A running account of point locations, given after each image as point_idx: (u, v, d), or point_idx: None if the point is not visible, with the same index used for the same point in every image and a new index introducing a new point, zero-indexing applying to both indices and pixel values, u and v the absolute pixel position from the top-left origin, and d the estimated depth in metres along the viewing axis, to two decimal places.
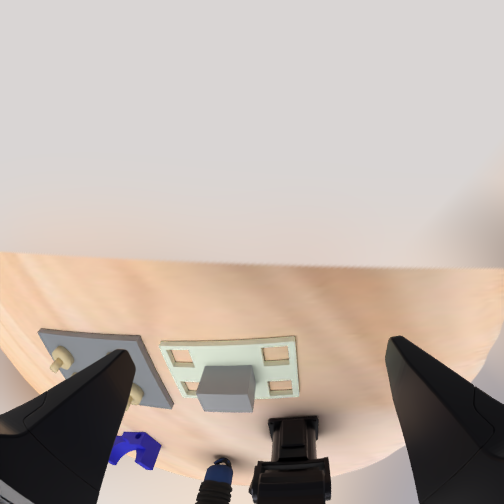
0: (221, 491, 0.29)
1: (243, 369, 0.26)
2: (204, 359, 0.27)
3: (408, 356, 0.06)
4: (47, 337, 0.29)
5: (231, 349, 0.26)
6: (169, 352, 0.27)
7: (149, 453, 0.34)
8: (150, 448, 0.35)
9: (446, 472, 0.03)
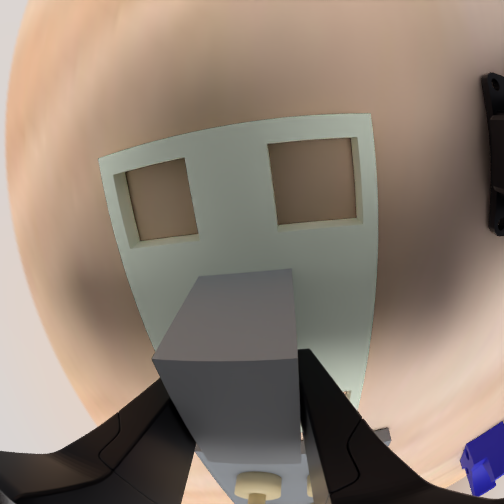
0: None
1: None
2: None
3: (303, 372, 0.07)
4: None
5: (153, 318, 0.10)
6: None
7: (496, 454, 0.11)
8: (493, 446, 0.12)
9: None
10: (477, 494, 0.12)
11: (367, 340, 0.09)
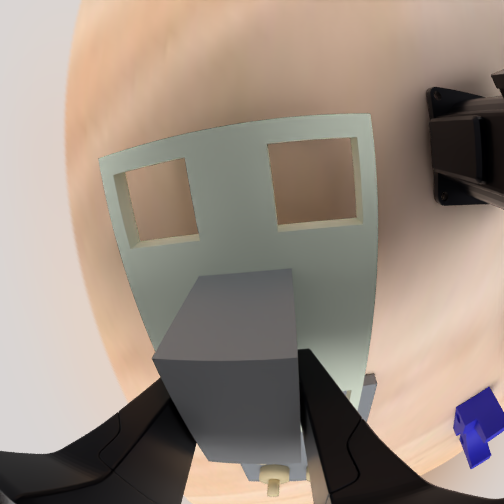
0: None
1: None
2: None
3: (302, 372, 0.07)
4: (251, 475, 0.24)
5: (153, 318, 0.10)
6: None
7: (485, 416, 0.15)
8: (482, 409, 0.16)
9: None
10: (473, 463, 0.16)
11: (367, 340, 0.09)
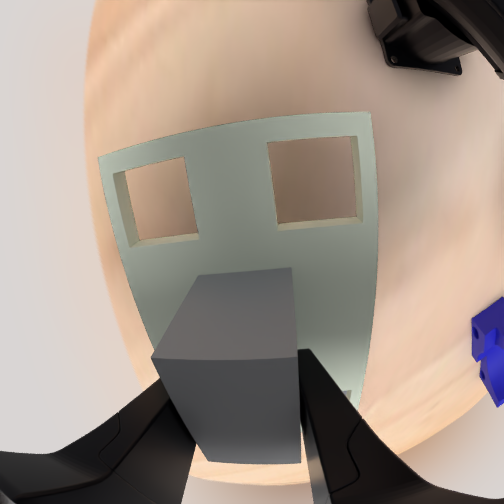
0: None
1: None
2: None
3: (303, 372, 0.07)
4: None
5: (153, 318, 0.10)
6: None
7: None
8: (500, 317, 0.17)
9: None
10: (499, 398, 0.17)
11: (367, 339, 0.09)
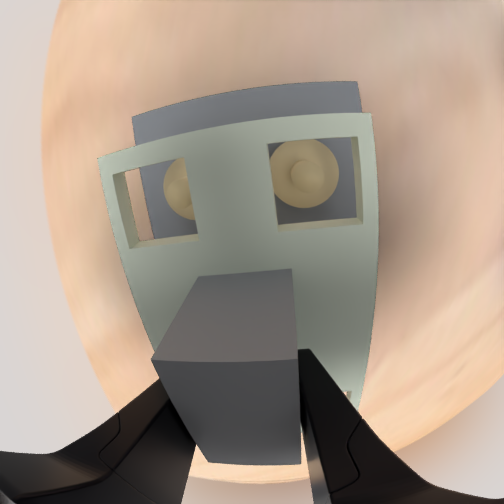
0: None
1: None
2: None
3: (302, 372, 0.07)
4: None
5: (153, 319, 0.10)
6: None
7: None
8: None
9: None
10: None
11: (367, 340, 0.09)
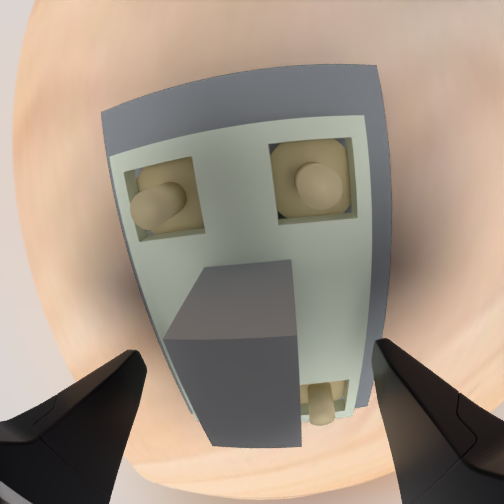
0: None
1: None
2: None
3: (392, 359, 0.06)
4: None
5: (160, 309, 0.10)
6: None
7: None
8: None
9: (428, 479, 0.03)
10: None
11: (363, 329, 0.10)
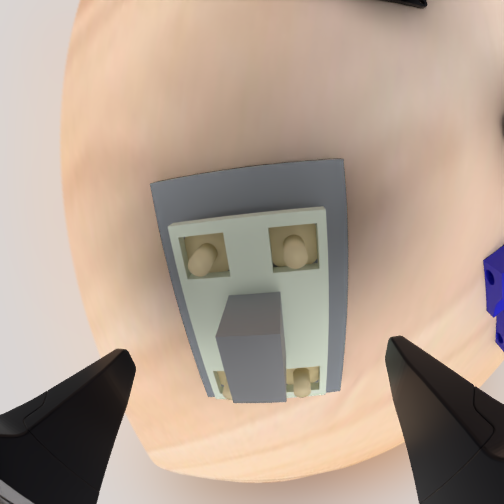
0: None
1: None
2: None
3: (408, 356, 0.06)
4: (209, 381, 0.22)
5: (198, 319, 0.17)
6: None
7: None
8: None
9: (446, 472, 0.03)
10: None
11: (326, 332, 0.16)
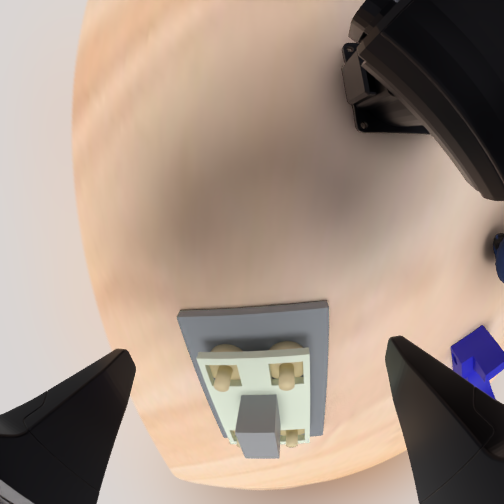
0: None
1: None
2: None
3: (408, 356, 0.06)
4: None
5: (219, 405, 0.22)
6: None
7: (482, 352, 0.18)
8: (477, 346, 0.19)
9: (446, 472, 0.03)
10: None
11: (308, 413, 0.22)
